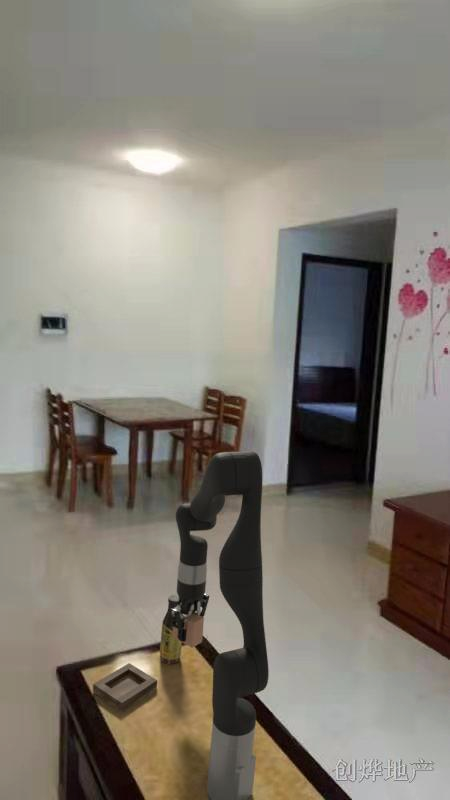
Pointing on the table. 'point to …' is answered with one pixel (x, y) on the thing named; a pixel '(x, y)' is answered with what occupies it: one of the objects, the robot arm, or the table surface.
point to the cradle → (125, 686)
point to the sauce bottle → (169, 636)
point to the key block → (192, 630)
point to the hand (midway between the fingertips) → (187, 636)
